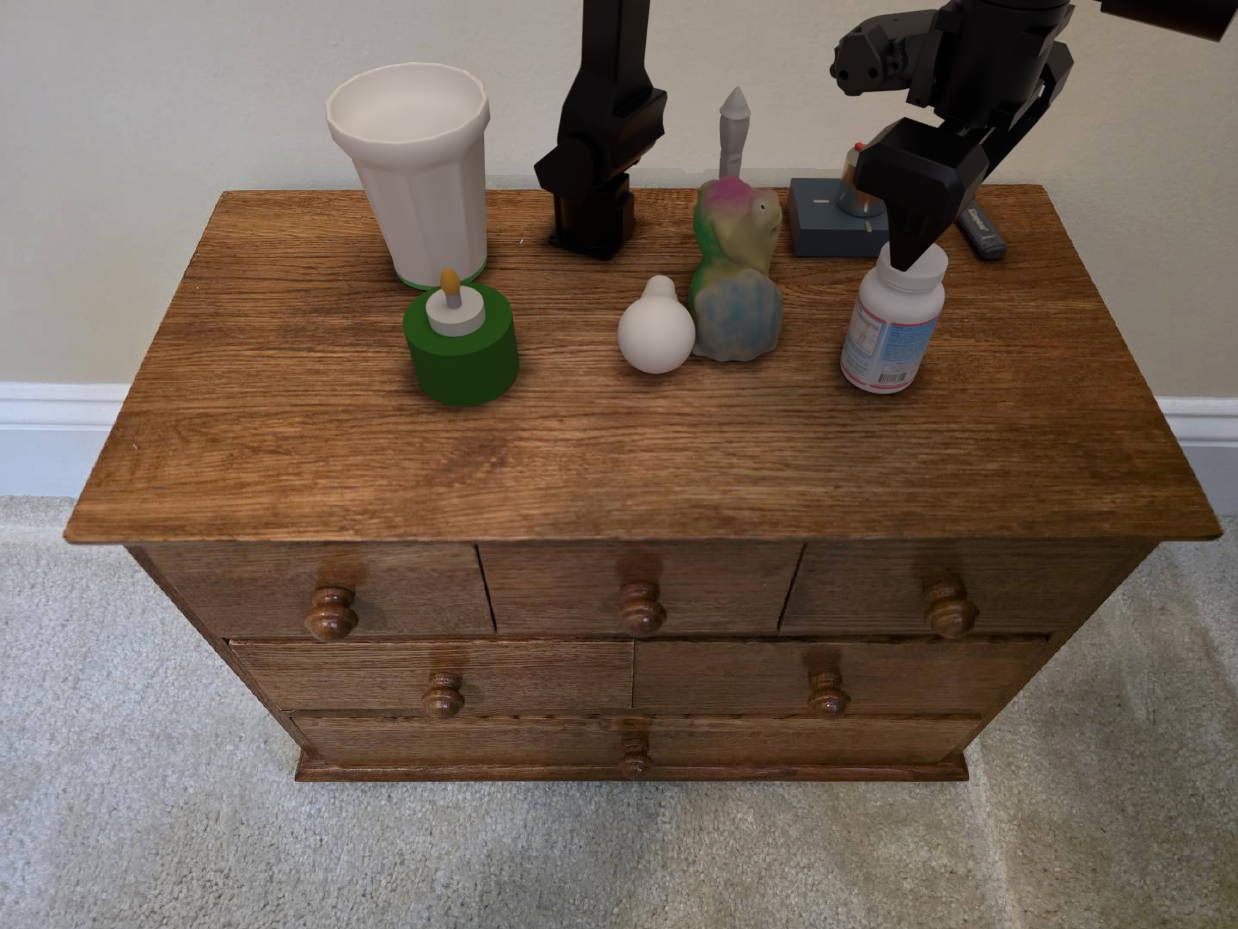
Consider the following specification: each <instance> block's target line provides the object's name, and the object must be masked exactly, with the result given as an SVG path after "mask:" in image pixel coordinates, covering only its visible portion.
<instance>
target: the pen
mask: <svg viewBox="0 0 1238 929" xmlns="http://www.w3.org/2000/svg"><path fill="white" fill-rule="evenodd" d="M718 110H719V114H720V117H719V145H720V152H719V153H720V155H719V165H718V166H719V169H718V170H719V171H718V180H720V179H721V178H722V177H724V176H726V175H730V174H731V175H735V176H737V177H739V178H740V173H741V168H742V161H743V160H742V159H743V151H744V148H745V144H746V140H747V137H748V133H749V129H750V124H751V123H750V120H751V115H752V112H751V111H752V110H751V109H750V107H749V105H748V102H747V100H746V97H745V95H744V93H743V91H742V89H741V88H740V86H739V85H736V87H735V88H733V90H732V91H731V92H730V94H729V95H728V96H727V98H726V99H725V101H724V103H723V104H722V105H721V106H720V107H719V108H718Z"/></svg>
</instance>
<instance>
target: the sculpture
mask: <svg viewBox="0 0 1238 929" xmlns="http://www.w3.org/2000/svg"><path fill="white" fill-rule="evenodd" d="M782 221H783V211H782V206H781V204H780V197H779V194H778V192H777V191H776V190H774V189H772V188H768V189H766V188H765V189H760V188H757V187H753V186H751V185H750V184H748V183H747V182H745V181H743V180H742V179H741V178H740V176H739V177H737V176H735V175H731V174H730V175H726V176H724V177H722V178H721V179H720V180H719V179H710V180H707V181H705V182H704V183H702V185H701V186H700V187H699V189H698V192H697V201H696V204H695V208H694V211H693V220H692V228H693V233H694V234H693V235H694V236H695V240H696V242H697V245H698V247H699V251H700V253H701V258H700V261H699V263H698V265H697V266H696V268H695V270H694V273H693V276H692V280H691V282H690V286H689V290H688V308H689V314H690V315H691V318H692V320H693V323H694V326H695V342H694V345H693V348H692V351H691V353H692V354H693V355H695V356H697V357H707V358H710V359H712V360H714V361H716V362H721V363H723V362H728V361H739V362H749V361H752V360H754V359H756V358H757V357H759V356H760V355H762V354H765V353H769V352H772V351H774V350H775V349H776V347H777V346H778V342H779V338H780V336H779V335H780V332H781V329H782V326H783V316H784V315H783V302H784V297H783V293H782V291H781V289H780V288H779V287H778V285H777V284H776V283H775V282H774V281H773V280H772V279H771V278H769V271H770V268H771V262H772V259H773V256H774V253H775V250H776V248H777V244H778V240H779V236H780V233H781V224H782Z"/></svg>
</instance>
